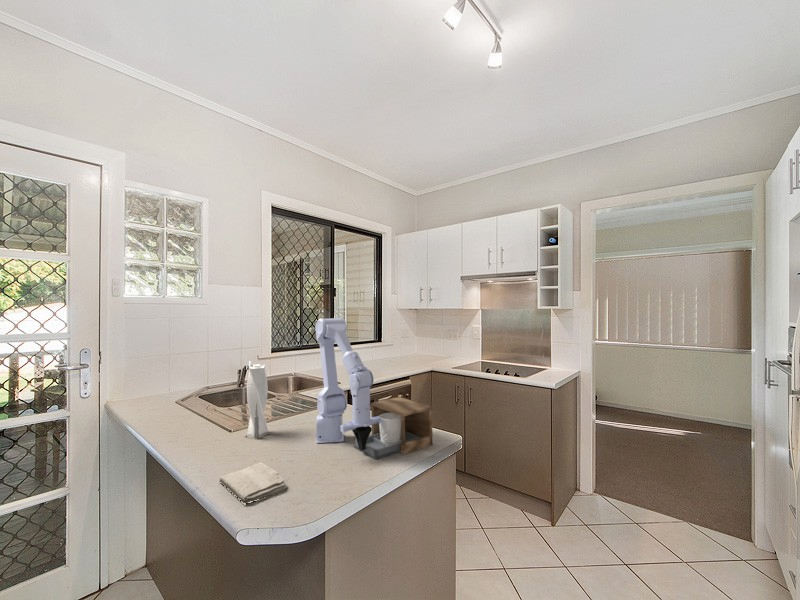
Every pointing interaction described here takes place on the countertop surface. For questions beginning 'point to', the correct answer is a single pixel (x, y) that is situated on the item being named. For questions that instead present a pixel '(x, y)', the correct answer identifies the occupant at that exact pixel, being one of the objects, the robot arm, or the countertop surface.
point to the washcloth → (254, 482)
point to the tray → (383, 445)
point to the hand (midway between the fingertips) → (361, 449)
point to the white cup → (390, 428)
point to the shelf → (407, 421)
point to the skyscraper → (257, 401)
